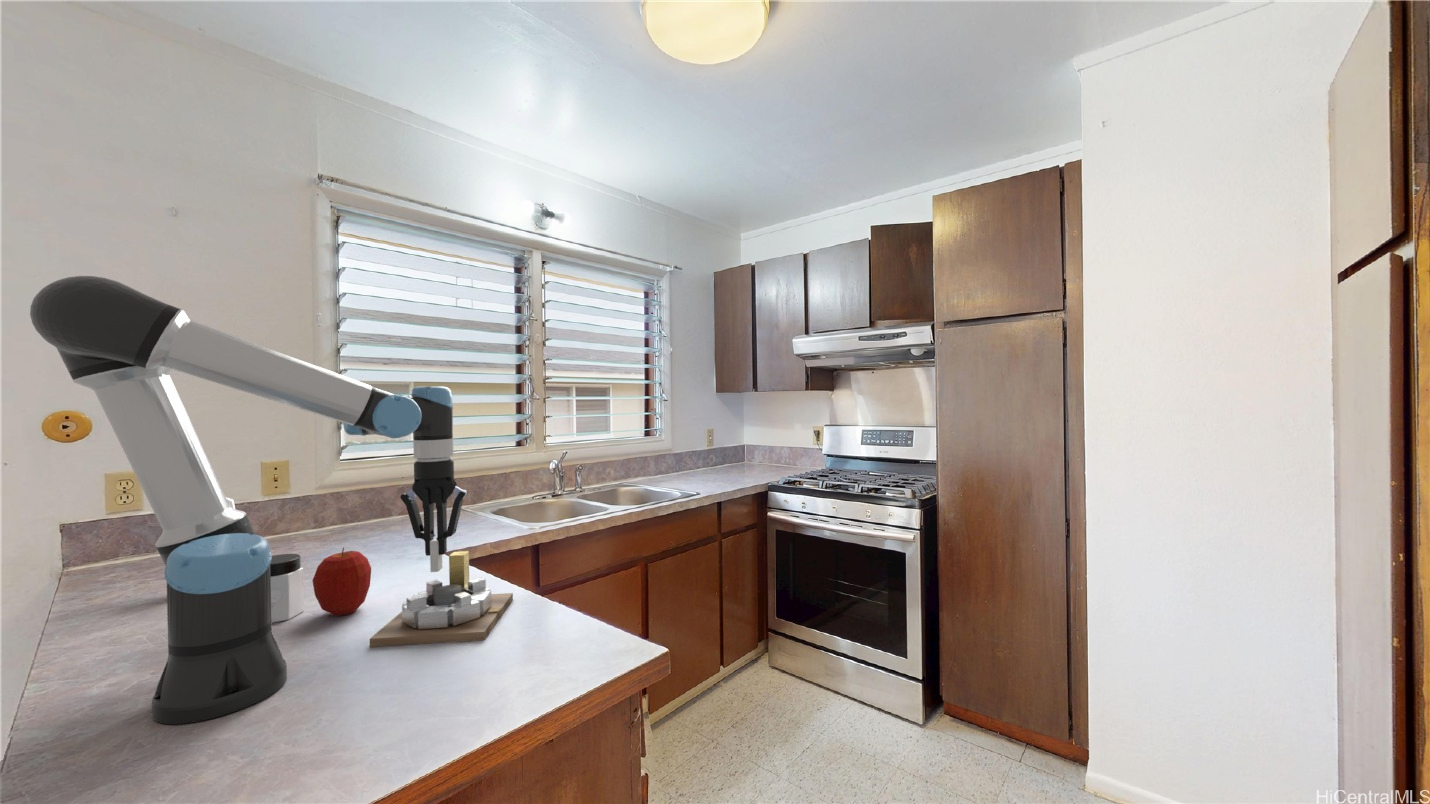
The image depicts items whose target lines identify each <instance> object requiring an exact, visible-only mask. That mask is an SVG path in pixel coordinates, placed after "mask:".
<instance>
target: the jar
mask: <svg viewBox="0 0 1430 804" xmlns="http://www.w3.org/2000/svg"><path fill="white" fill-rule="evenodd" d="M301 565H302V564H301V555H300V554H297V553H283V554H274V555H272V560H271V563H270V576H271V624H274V623H280V622H283V621H288V620H291V619H293V618H294V617H296V616H297V615H300V614H301V613H303V612H304V611H305V593H304V592H305V591H304V589H305V588H304V587H305V585H304V568H303V567H301Z"/></svg>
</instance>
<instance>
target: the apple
mask: <svg viewBox="0 0 1430 804" xmlns="http://www.w3.org/2000/svg"><path fill="white" fill-rule="evenodd" d="M344 550H345V549H344V547H342V551H341V552H338V553H335V554H332V555H330V556H327V557H325V558H323V560H322V561H321V562H320V563H319V564H318V566H317V568H316V571H315V574H314V576H313V578H312V586H313V592H314V597H315V598H316V600H317V602H318V604H319V606H320V608H321V610H322V611H324V612H326V613H329V614H330V615H332V616H334V617H335V616H336V617H338V616H339V617H340V616H346V615H350V614H353V613H355V612H356V611H357V610H358V609H359V608H360V607H361V605H363V604H364V603H365V601H366V599H367V596H368V592H369V589H370V587H371V578H372V577H371V576H372V566H371V564H370V561H369V559H368V557H366V556H365V555H364V554H363V553H362V552H360V551H357V550H348V551H344Z"/></svg>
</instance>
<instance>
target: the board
mask: <svg viewBox="0 0 1430 804" xmlns="http://www.w3.org/2000/svg"><path fill="white" fill-rule="evenodd" d="M458 593H462V586H460V585H450V584H447V585H442V587H439V588H437V589H435V590H434V606H442V605H451V604H454V595H455V594H458ZM513 596H514V593H513V592H508V593H491V606H490V607H489V609H488V610H487V611H486V613H485V614H484V615H480V617H479V618H476V619H473V620H470V621H467V622H464V623H461V624H458V625H455V626H453V625H451V624H450V625H449V626H448V627H442V628H426V629H418V627H417V628H413V627H411V626H409V625H407V624H406V623H404V622H402V611H401V612H400V613H398V614H397V615H396V616H394V617H393V618H392V619H391V620H390V621H389V622H388V623H386V624H385V625H383V627H382V628H380V629H379V630H378V631H376V633H375V634H373V635H372V636H371V637H370V638H369V648H377V647H392V646H393V647H394V646H406V645H407V646H408V645H425V644H441V643H452V642H453V643H455V642H471V641H472V642H473V641H485V640H486V638H488V636H489V634H490V633H491V631H492V630H494V628H495V626H496V625H497V623H498V622H499V620H500V619H501V617H502V616H503V615H504V613H505V612H506V611H507V609H508V607H509V606H510V604H511V603H512V602H513V600H514V597H513Z"/></svg>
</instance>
